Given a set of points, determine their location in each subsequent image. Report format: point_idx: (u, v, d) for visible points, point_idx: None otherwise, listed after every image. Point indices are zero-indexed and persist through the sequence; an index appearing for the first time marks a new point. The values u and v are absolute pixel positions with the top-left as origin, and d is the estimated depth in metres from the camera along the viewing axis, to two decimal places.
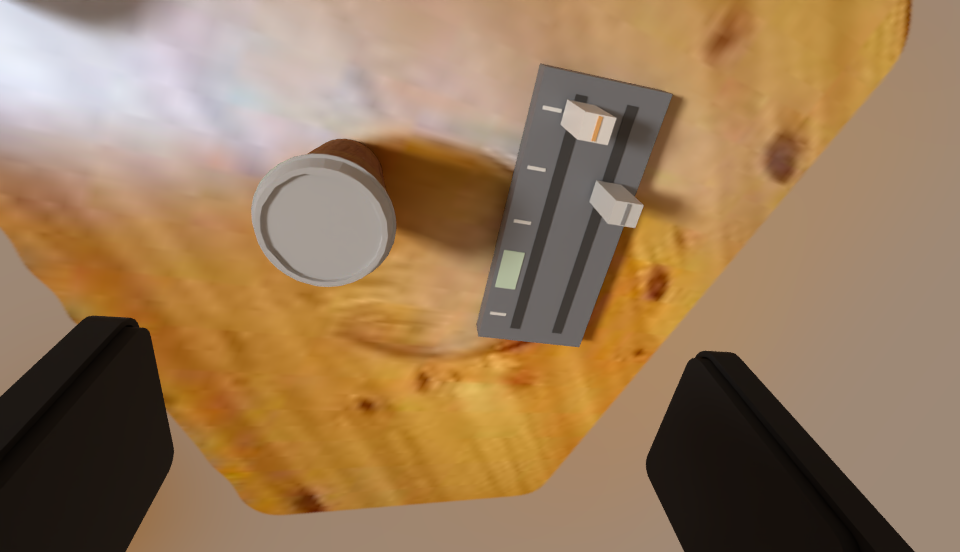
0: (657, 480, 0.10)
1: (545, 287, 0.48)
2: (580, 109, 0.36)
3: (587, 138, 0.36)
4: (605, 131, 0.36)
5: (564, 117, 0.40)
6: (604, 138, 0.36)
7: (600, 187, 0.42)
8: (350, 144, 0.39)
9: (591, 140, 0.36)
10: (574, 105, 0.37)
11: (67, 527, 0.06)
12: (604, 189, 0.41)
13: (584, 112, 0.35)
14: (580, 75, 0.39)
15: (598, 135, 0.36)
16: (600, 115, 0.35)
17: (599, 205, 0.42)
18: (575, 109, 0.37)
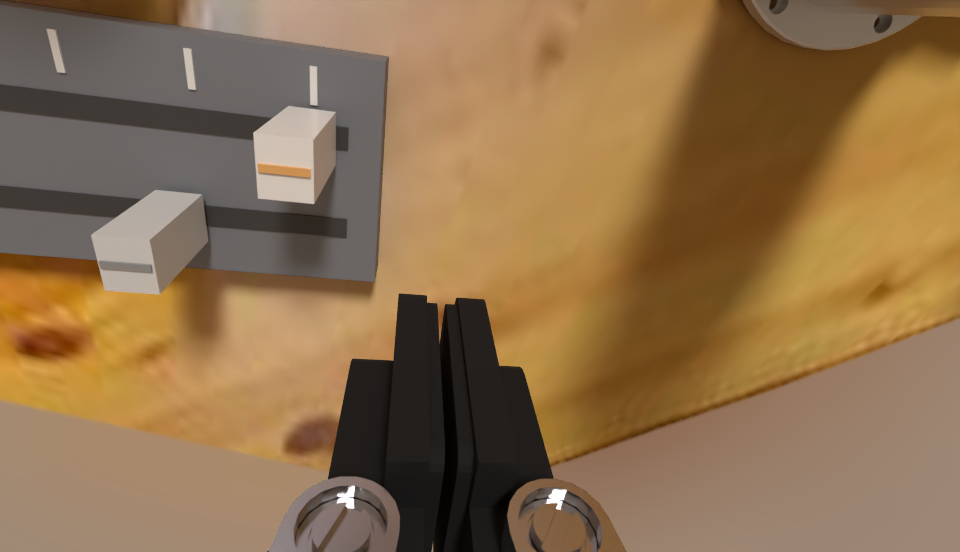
0: None
1: None
2: (317, 132, 0.18)
3: (260, 155, 0.17)
4: (283, 188, 0.18)
5: (301, 110, 0.21)
6: (269, 189, 0.18)
7: (185, 204, 0.22)
8: None
9: (258, 163, 0.17)
10: (325, 122, 0.20)
11: None
12: (180, 212, 0.21)
13: (311, 138, 0.17)
14: (379, 130, 0.23)
15: (272, 176, 0.18)
16: (312, 172, 0.18)
17: (143, 209, 0.21)
18: (317, 124, 0.19)
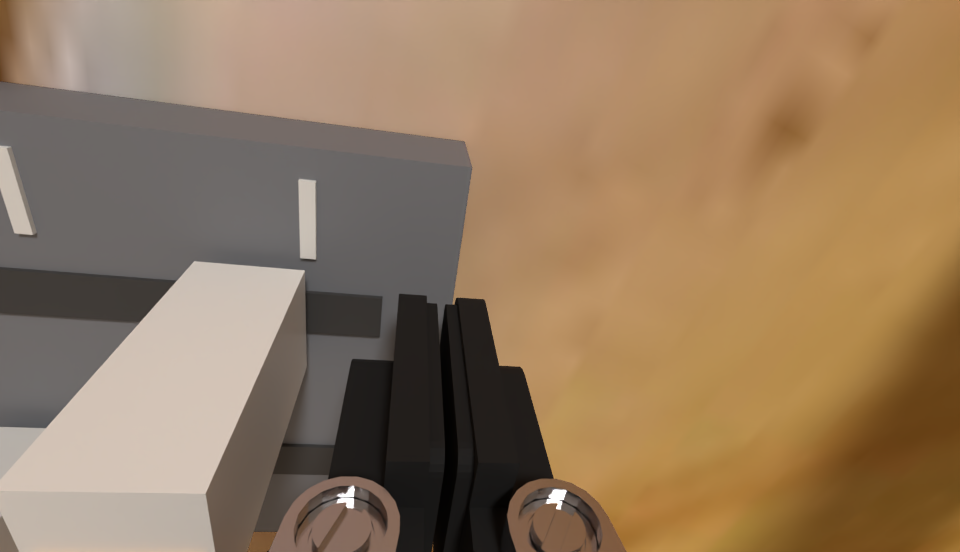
0: None
1: None
2: (235, 412, 0.06)
3: (32, 539, 0.05)
4: None
5: (221, 277, 0.09)
6: None
7: None
8: None
9: None
10: (269, 336, 0.08)
11: None
12: None
13: (201, 481, 0.05)
14: (447, 299, 0.11)
15: None
16: None
17: None
18: (245, 356, 0.07)
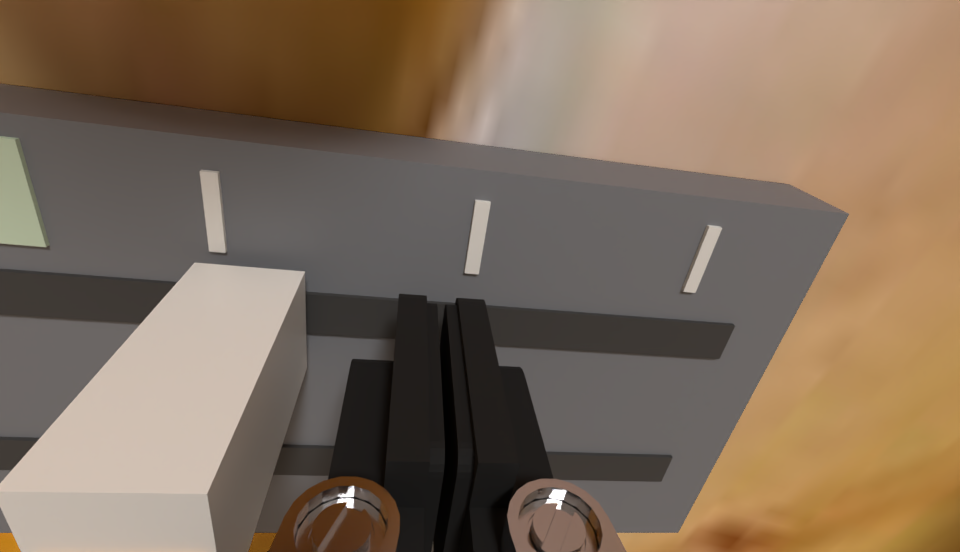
0: None
1: None
2: (236, 413, 0.06)
3: (34, 539, 0.05)
4: None
5: (222, 278, 0.09)
6: None
7: None
8: None
9: None
10: (270, 337, 0.08)
11: None
12: None
13: (203, 481, 0.05)
14: (784, 325, 0.12)
15: None
16: None
17: None
18: (246, 357, 0.07)
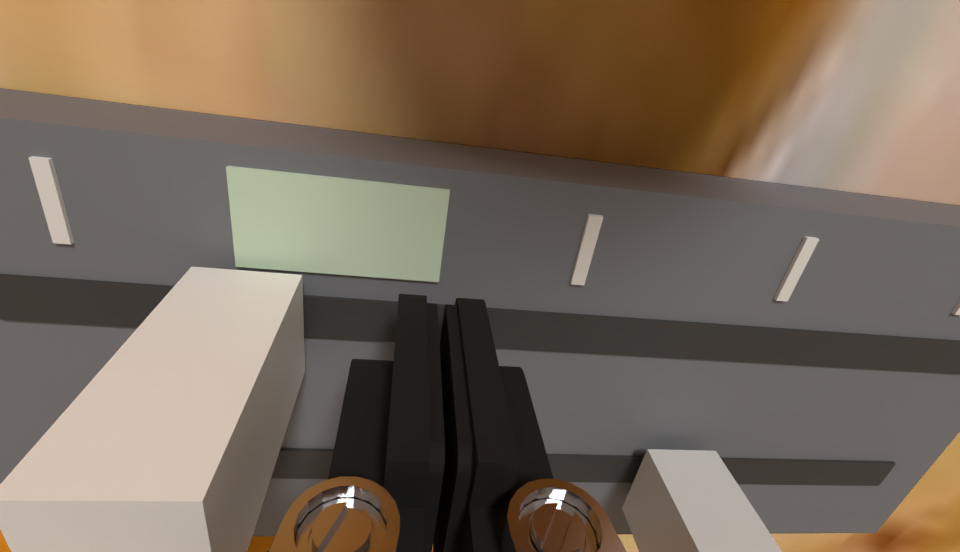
0: None
1: None
2: (232, 419, 0.06)
3: (29, 547, 0.05)
4: None
5: (218, 282, 0.09)
6: None
7: (737, 493, 0.12)
8: None
9: None
10: (267, 342, 0.08)
11: None
12: (762, 526, 0.11)
13: (198, 488, 0.05)
14: None
15: None
16: None
17: (710, 531, 0.11)
18: (242, 362, 0.07)
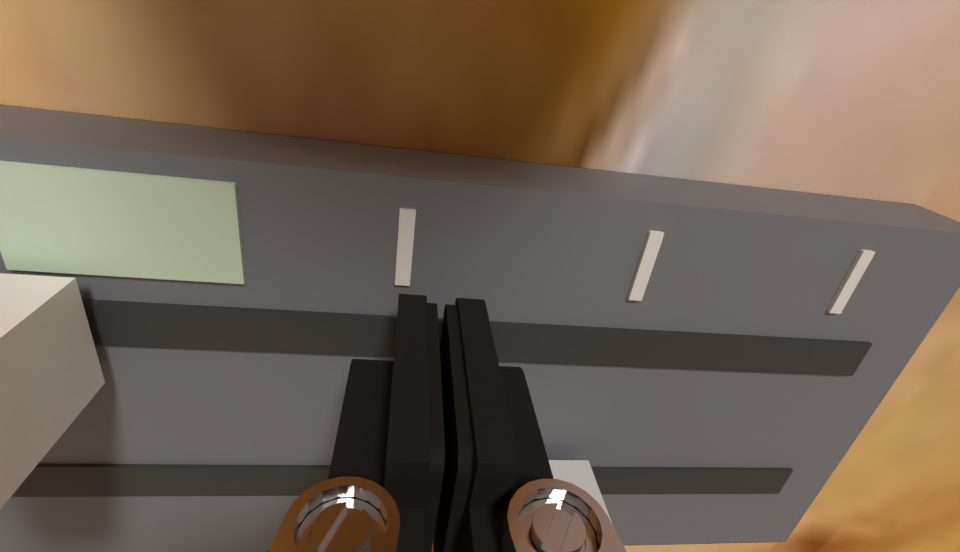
0: None
1: None
2: None
3: None
4: None
5: None
6: None
7: None
8: None
9: None
10: None
11: None
12: None
13: None
14: (917, 342, 0.12)
15: None
16: None
17: None
18: None
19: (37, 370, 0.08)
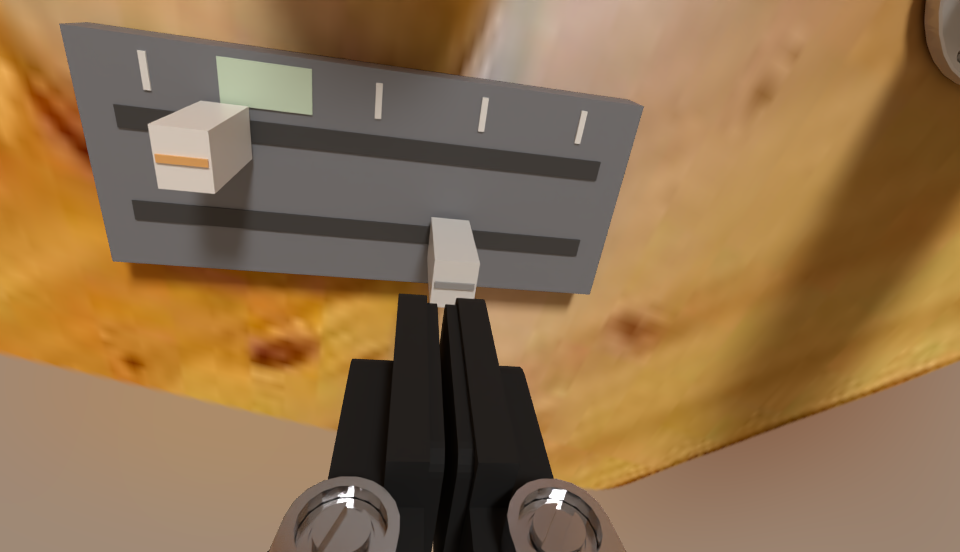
0: None
1: None
2: (217, 123, 0.19)
3: (156, 146, 0.18)
4: (183, 178, 0.19)
5: (212, 104, 0.22)
6: (169, 179, 0.19)
7: (468, 230, 0.25)
8: None
9: (155, 154, 0.18)
10: (230, 115, 0.20)
11: None
12: (472, 237, 0.24)
13: (206, 129, 0.18)
14: (625, 163, 0.26)
15: (171, 166, 0.18)
16: (209, 162, 0.18)
17: (444, 236, 0.24)
18: (221, 117, 0.20)
19: (240, 134, 0.21)
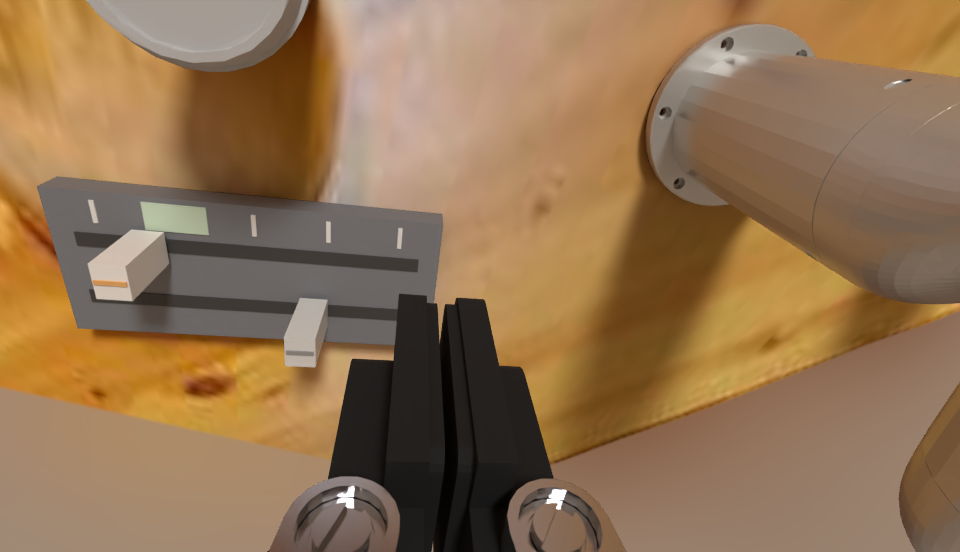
0: None
1: None
2: (134, 257, 0.30)
3: (93, 275, 0.29)
4: (111, 293, 0.30)
5: (138, 233, 0.33)
6: (103, 293, 0.30)
7: (322, 309, 0.36)
8: None
9: (93, 280, 0.29)
10: (146, 245, 0.31)
11: None
12: (321, 316, 0.35)
13: (124, 265, 0.29)
14: (437, 260, 0.37)
15: (103, 286, 0.29)
16: (128, 283, 0.29)
17: (300, 315, 0.35)
18: (139, 249, 0.31)
19: (156, 253, 0.32)
